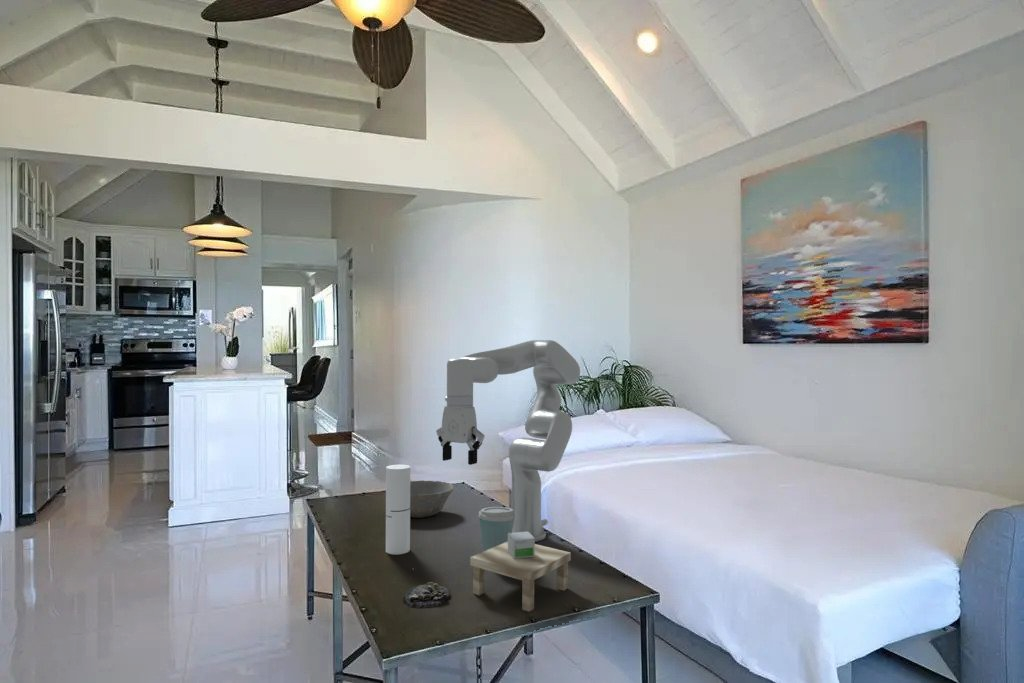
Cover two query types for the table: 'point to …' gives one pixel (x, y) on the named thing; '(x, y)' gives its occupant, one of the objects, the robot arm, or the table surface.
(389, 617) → the table surface
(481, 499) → the table surface
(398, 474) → the cylindrical container
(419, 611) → the table surface
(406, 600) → the dark grey rock
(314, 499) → the table surface
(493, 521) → the disposable coffee cup
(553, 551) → the footstool
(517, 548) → the small box
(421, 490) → the ceramic bowl
